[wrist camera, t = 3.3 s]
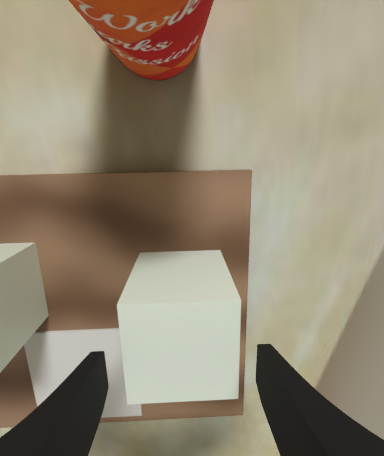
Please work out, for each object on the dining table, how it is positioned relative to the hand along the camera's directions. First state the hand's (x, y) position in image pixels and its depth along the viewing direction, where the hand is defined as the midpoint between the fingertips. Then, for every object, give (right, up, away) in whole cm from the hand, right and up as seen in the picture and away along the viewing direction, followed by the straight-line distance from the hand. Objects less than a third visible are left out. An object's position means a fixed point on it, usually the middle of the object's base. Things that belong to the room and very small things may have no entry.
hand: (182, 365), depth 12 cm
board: (-6, 0, +9) cm, 11 cm away
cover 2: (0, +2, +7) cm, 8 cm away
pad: (-8, -5, +10) cm, 14 cm away
